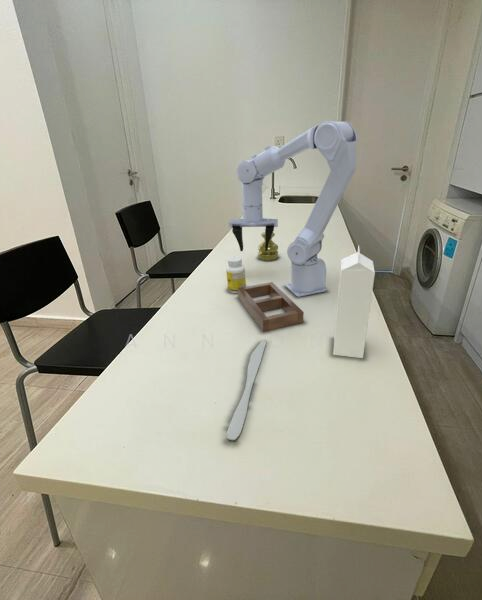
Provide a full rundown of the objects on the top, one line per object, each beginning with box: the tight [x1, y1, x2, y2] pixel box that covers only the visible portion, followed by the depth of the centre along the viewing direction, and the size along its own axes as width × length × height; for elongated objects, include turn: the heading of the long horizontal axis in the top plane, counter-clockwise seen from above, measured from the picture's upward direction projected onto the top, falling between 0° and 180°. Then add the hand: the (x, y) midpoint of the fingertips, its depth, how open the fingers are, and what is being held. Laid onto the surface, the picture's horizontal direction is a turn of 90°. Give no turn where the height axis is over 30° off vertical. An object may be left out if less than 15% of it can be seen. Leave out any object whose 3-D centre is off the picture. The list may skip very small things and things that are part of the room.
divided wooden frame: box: [237, 281, 304, 332], centre depth 86 cm, size 10×20×3 cm, turn 20°
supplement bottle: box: [225, 256, 247, 294], centre depth 96 cm, size 5×5×10 cm
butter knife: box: [226, 340, 267, 441], centre depth 62 cm, size 1×27×3 cm
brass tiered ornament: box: [257, 231, 279, 262], centre depth 120 cm, size 7×7×10 cm
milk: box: [332, 244, 376, 359], centre depth 65 cm, size 6×6×22 cm
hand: (254, 250), depth 102 cm, fingers open, 7 cm apart
